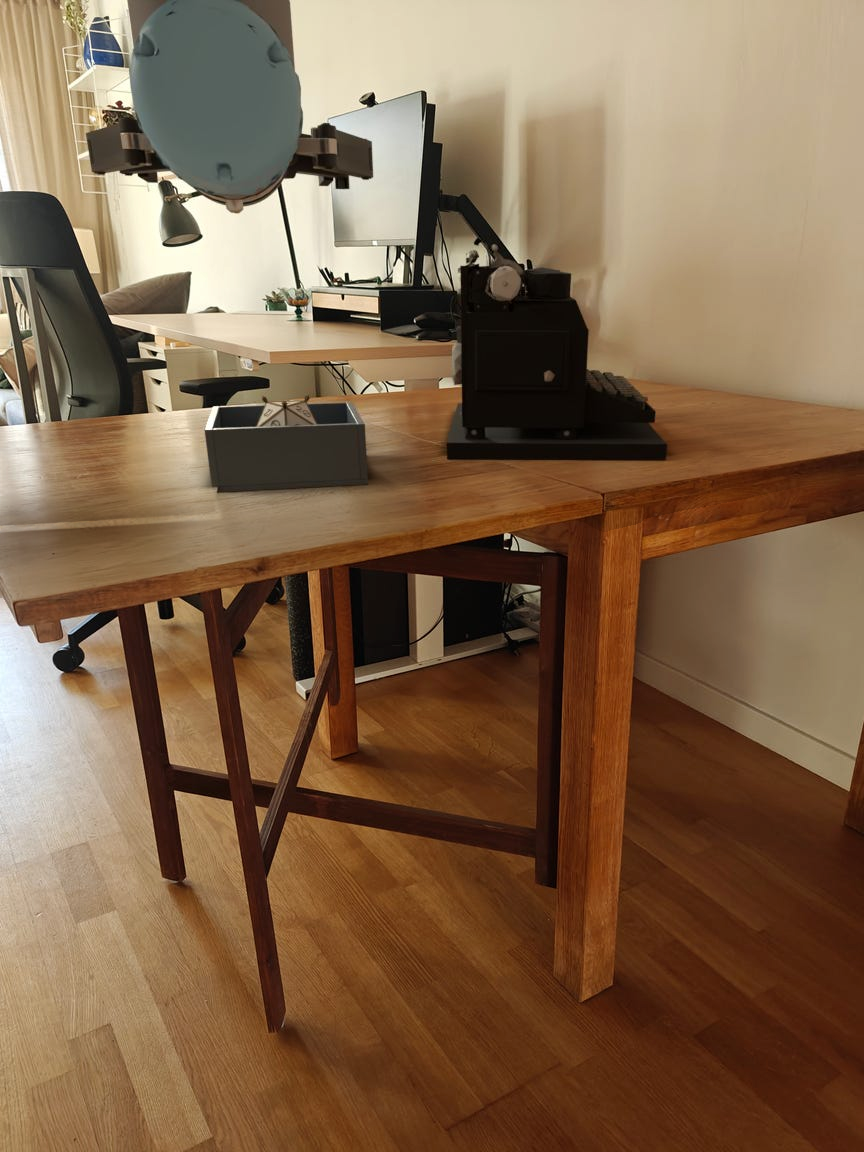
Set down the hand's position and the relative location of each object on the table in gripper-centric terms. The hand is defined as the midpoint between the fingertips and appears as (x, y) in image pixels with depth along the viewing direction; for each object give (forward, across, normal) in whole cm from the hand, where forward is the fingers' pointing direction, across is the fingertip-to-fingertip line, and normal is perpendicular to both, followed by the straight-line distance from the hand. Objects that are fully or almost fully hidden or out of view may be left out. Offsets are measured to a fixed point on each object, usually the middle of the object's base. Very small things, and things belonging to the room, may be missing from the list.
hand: (238, 165), depth 71 cm
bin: (+20, +2, -30) cm, 36 cm away
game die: (+19, +2, -30) cm, 35 cm away
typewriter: (+34, +38, -30) cm, 59 cm away
